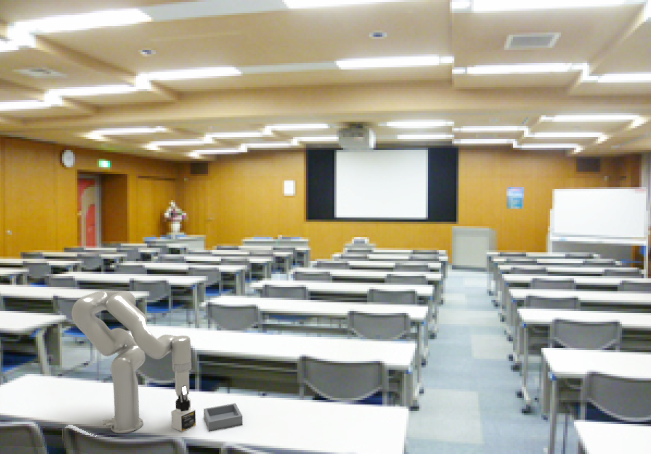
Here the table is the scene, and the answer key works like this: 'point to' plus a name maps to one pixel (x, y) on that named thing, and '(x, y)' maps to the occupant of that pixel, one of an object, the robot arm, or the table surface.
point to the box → (222, 417)
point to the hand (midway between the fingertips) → (183, 406)
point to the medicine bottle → (183, 417)
